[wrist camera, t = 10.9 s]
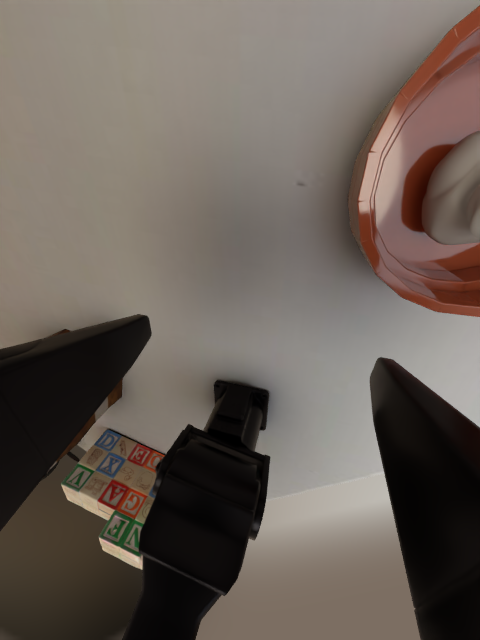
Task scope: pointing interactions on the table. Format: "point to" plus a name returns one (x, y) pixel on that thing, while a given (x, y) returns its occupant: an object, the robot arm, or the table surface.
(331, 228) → the table surface
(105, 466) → the stack of blocks
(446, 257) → the bowl
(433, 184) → the grey rounded figurine
